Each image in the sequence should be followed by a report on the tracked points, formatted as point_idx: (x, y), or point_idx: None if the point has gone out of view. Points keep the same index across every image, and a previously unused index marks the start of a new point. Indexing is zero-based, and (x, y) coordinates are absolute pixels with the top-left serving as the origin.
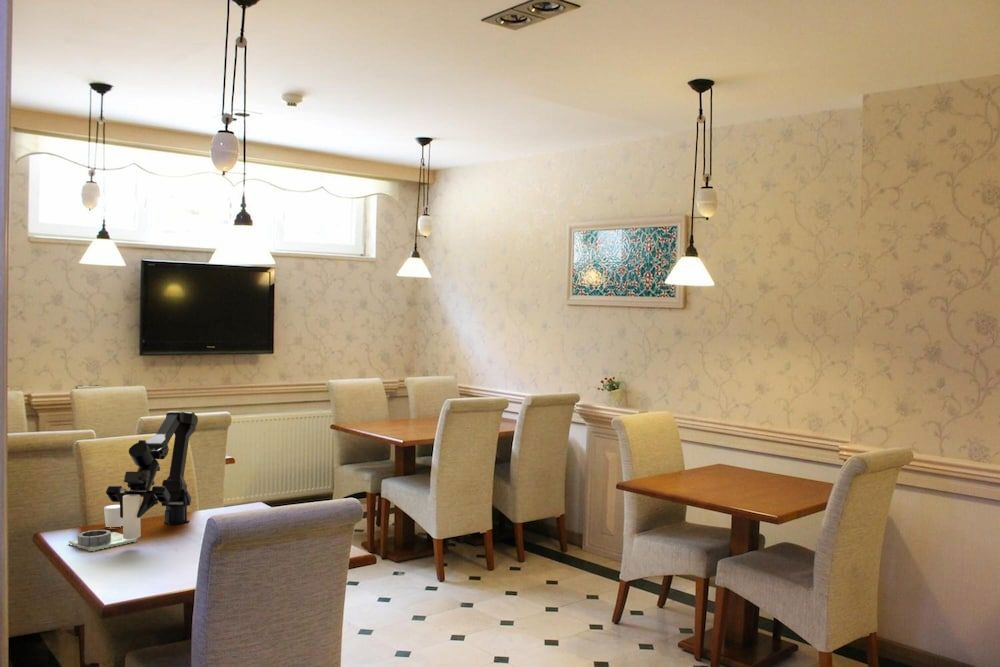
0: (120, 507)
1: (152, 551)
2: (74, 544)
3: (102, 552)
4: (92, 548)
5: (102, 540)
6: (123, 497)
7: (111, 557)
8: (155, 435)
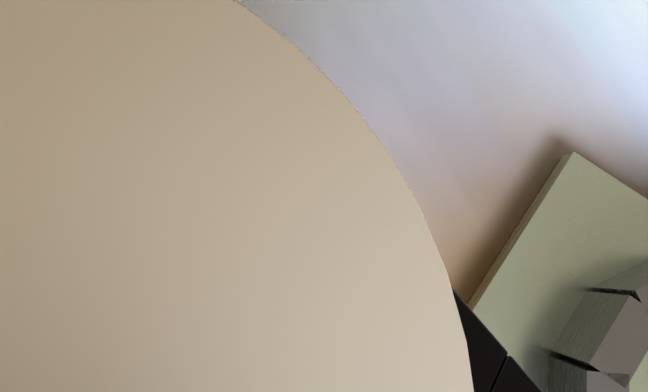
0: (467, 319)
1: None
2: None
3: (457, 152)
4: (566, 163)
5: (581, 326)
6: (283, 41)
7: (307, 19)
8: None
